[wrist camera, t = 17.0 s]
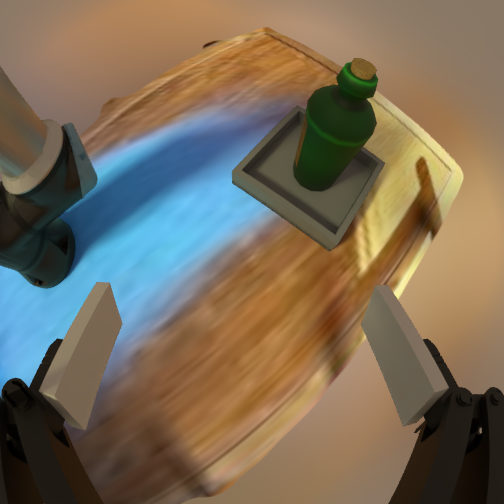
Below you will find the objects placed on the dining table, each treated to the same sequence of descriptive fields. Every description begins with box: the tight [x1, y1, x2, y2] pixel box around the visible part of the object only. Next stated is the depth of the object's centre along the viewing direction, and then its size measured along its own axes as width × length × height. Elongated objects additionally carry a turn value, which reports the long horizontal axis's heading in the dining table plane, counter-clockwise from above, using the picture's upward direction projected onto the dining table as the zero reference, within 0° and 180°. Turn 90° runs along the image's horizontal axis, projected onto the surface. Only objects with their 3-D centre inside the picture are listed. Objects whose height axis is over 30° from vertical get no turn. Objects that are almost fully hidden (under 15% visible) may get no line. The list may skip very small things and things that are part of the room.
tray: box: [232, 106, 385, 251], centre depth 52 cm, size 22×22×4 cm
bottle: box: [293, 58, 378, 192], centre depth 39 cm, size 11×11×28 cm
